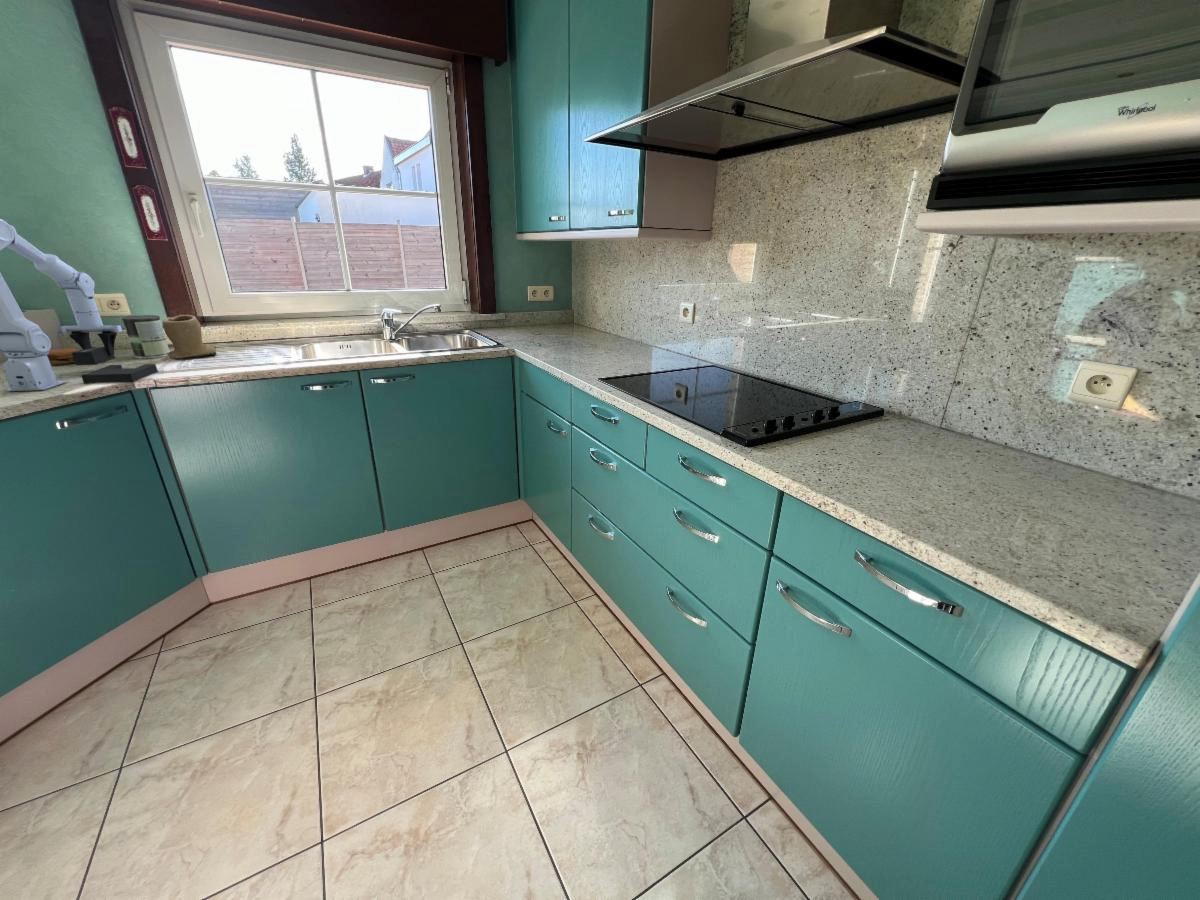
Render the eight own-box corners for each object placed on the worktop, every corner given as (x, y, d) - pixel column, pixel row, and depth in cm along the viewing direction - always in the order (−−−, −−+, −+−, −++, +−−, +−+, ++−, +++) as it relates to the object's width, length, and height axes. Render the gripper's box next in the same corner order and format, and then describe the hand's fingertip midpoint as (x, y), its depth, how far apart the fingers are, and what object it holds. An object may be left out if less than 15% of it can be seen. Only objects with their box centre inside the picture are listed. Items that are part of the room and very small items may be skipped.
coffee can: (128, 359, 175) (114, 318, 170) (143, 353, 184) (131, 315, 179) (163, 358, 178) (150, 318, 173) (176, 352, 187) (165, 315, 182)
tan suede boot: (173, 362, 172) (160, 318, 167) (165, 357, 180) (153, 315, 174) (225, 356, 183) (214, 315, 178) (215, 352, 190) (205, 312, 185)
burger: (37, 366, 162) (31, 351, 160) (57, 360, 170) (51, 347, 169) (74, 365, 165) (69, 351, 163) (92, 359, 173) (87, 346, 171)
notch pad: (133, 381, 147) (130, 373, 146) (83, 383, 144) (80, 375, 143) (158, 371, 160) (155, 363, 159) (113, 372, 157) (110, 365, 156)
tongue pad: (95, 364, 153) (91, 351, 151) (76, 365, 152) (71, 352, 150) (115, 358, 162) (111, 346, 160) (96, 359, 161) (92, 346, 159)
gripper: (121, 310, 159) (135, 352, 165) (66, 310, 156) (81, 353, 161) (108, 312, 153) (122, 356, 158) (49, 312, 149) (66, 357, 154)
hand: (101, 354), depth 159 cm, fingers closed on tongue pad, 5 cm apart
